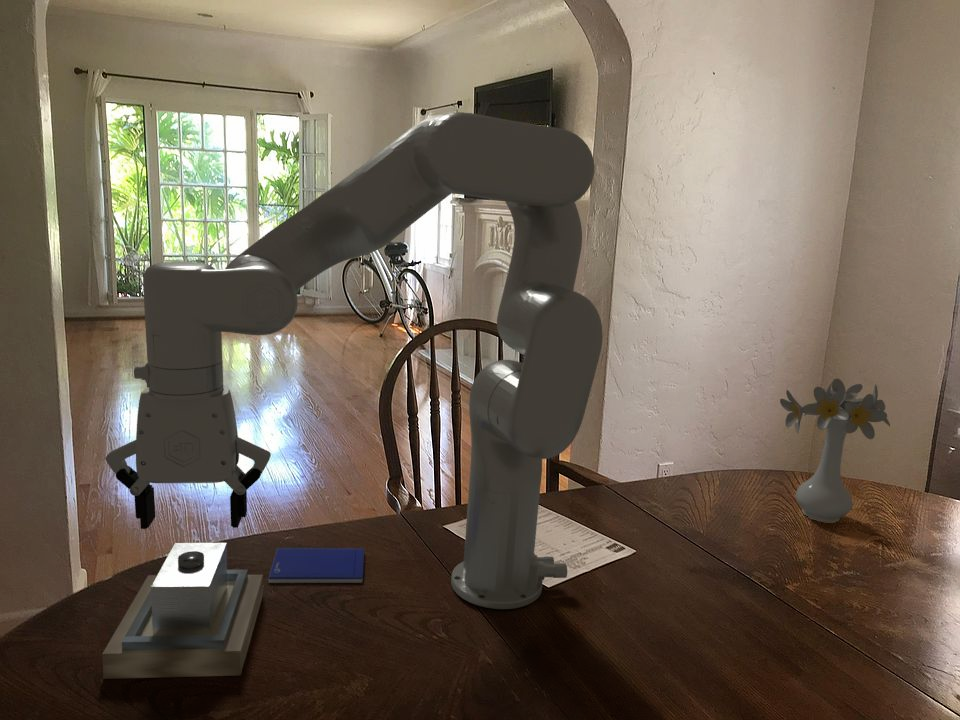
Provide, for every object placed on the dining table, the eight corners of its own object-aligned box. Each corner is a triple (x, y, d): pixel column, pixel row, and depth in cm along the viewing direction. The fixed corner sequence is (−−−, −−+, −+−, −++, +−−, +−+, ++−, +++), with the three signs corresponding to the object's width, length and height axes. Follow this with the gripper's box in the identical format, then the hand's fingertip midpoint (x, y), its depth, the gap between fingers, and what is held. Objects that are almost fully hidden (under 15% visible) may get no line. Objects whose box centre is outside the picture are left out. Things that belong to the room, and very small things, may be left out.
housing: (209, 635, 82) (208, 579, 80) (152, 636, 81) (150, 580, 79) (227, 587, 91) (226, 536, 90) (176, 587, 90) (174, 536, 89)
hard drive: (268, 576, 98) (362, 576, 100) (277, 546, 106) (364, 546, 108) (268, 586, 99) (362, 586, 100) (277, 556, 107) (363, 556, 108)
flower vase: (752, 504, 136) (773, 373, 130) (837, 501, 140) (862, 374, 135) (796, 536, 124) (822, 393, 118) (889, 532, 128) (918, 394, 122)
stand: (262, 595, 95) (262, 567, 95) (240, 675, 80) (240, 642, 79) (149, 596, 93) (147, 568, 92) (103, 678, 78) (101, 645, 77)
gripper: (88, 386, 75) (100, 540, 79) (263, 388, 77) (266, 537, 81) (113, 367, 82) (123, 509, 86) (273, 370, 85) (275, 508, 89)
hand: (192, 523), depth 84 cm, fingers open, 9 cm apart
